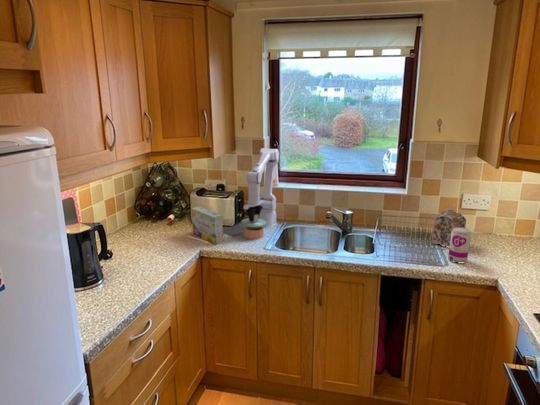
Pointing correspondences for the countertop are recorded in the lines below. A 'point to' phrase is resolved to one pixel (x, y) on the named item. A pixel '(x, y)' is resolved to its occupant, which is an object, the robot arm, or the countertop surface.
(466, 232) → the supplement can
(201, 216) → the snack box
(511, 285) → the countertop surface
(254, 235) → the bucket
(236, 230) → the mat
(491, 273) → the countertop surface
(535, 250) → the countertop surface
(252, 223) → the lid
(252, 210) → the robot arm
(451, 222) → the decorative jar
